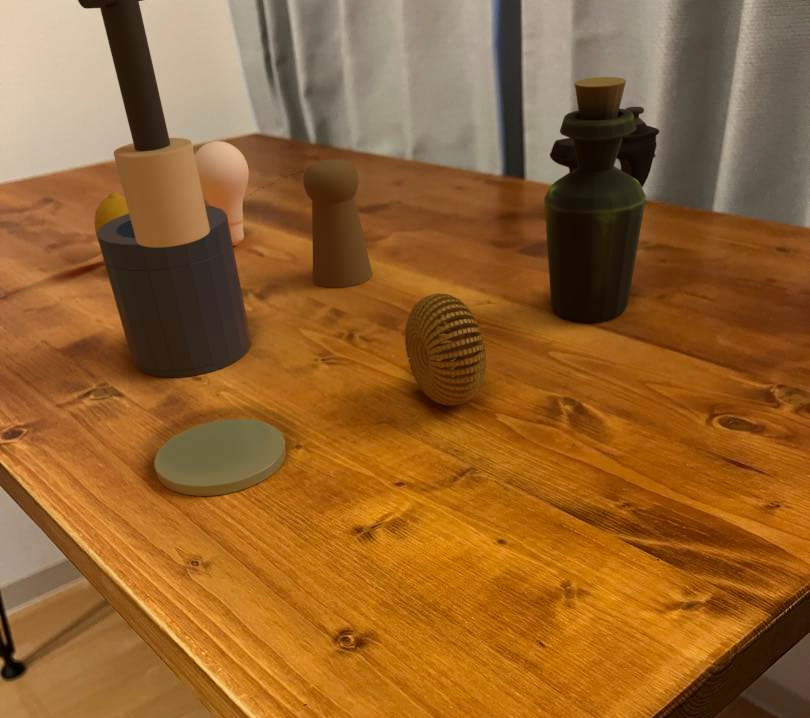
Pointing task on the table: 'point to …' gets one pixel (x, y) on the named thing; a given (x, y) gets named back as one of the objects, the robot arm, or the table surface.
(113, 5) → the robot arm
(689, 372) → the table surface
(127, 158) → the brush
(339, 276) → the cork
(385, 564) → the table surface
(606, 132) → the potion bottle
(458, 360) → the sculpture
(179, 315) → the jar
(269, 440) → the coaster
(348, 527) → the table surface
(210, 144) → the lightbulb
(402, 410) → the table surface
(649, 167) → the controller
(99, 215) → the lemon
